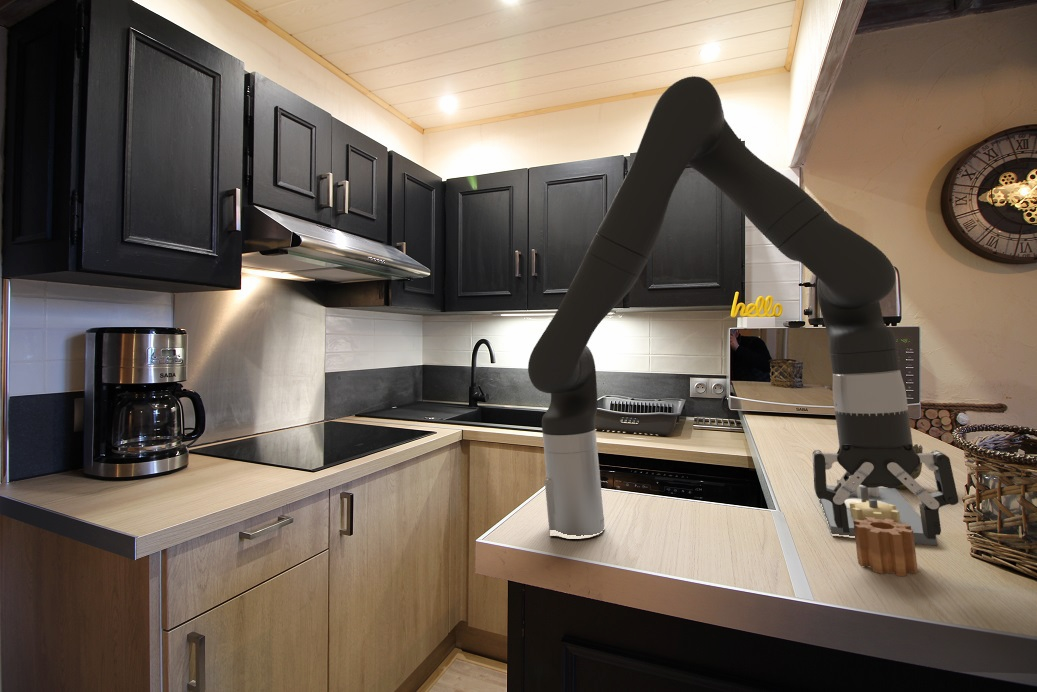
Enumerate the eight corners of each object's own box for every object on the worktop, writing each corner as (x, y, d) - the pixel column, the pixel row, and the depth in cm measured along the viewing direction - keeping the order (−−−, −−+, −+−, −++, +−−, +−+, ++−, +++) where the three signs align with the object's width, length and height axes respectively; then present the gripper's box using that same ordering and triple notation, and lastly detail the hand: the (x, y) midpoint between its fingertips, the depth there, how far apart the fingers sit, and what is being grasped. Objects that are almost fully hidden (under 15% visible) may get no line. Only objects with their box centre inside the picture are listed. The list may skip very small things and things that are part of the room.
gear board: (937, 545, 63) (933, 512, 63) (831, 536, 68) (828, 506, 68) (896, 496, 82) (893, 471, 82) (816, 492, 88) (814, 469, 88)
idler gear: (874, 576, 56) (869, 535, 56) (848, 555, 62) (843, 517, 62) (929, 576, 55) (924, 534, 55) (897, 554, 61) (893, 516, 61)
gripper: (807, 413, 59) (823, 540, 58) (953, 408, 52) (973, 552, 52) (803, 405, 66) (817, 519, 65) (932, 400, 59) (949, 528, 58)
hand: (886, 534), depth 58 cm, fingers open, 8 cm apart
